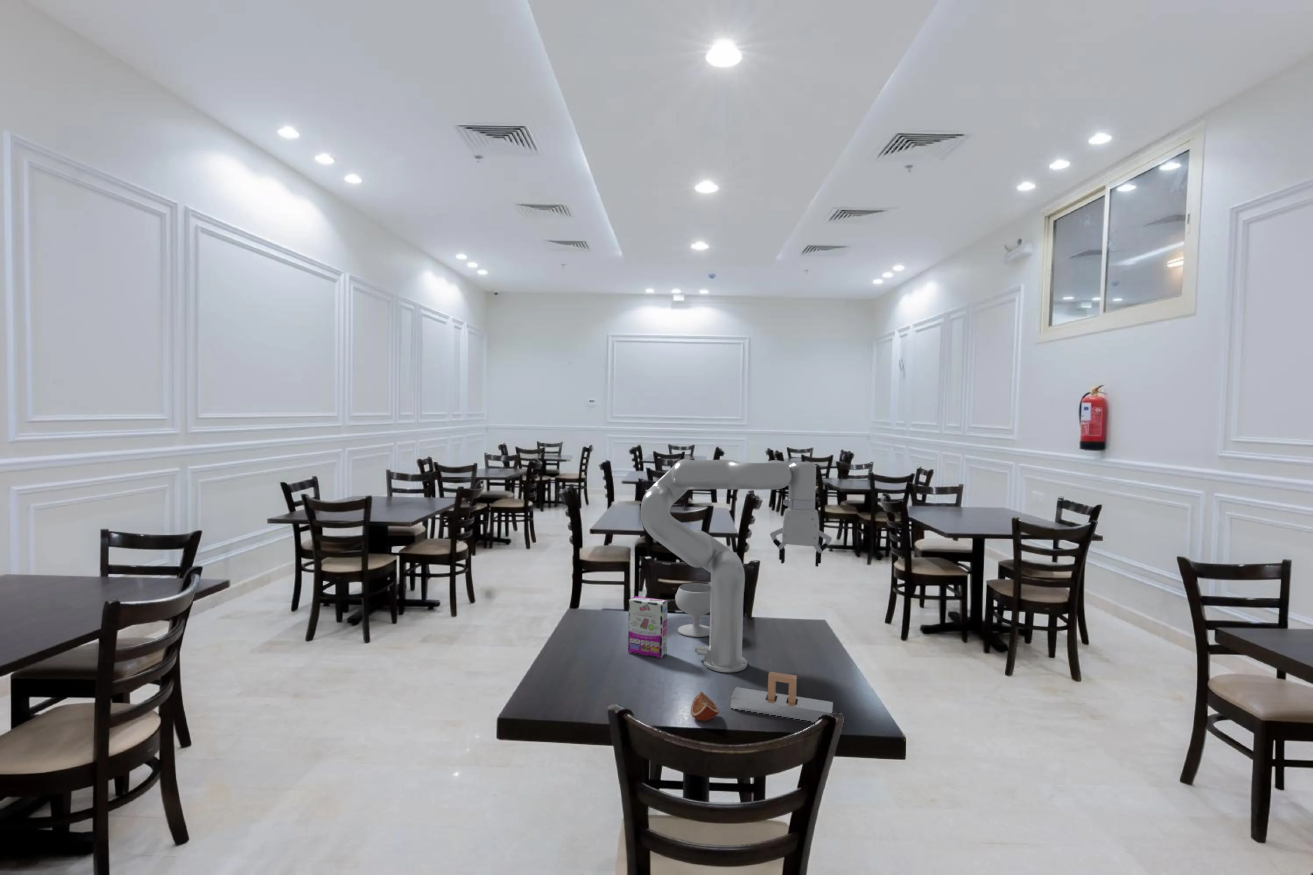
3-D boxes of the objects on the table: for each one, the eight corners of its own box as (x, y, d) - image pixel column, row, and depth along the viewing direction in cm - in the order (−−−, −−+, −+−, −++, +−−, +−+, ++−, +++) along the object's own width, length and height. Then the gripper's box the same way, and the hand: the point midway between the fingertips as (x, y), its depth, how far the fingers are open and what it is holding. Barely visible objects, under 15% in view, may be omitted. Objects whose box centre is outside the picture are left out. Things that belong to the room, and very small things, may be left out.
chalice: (672, 625, 216) (673, 582, 215) (711, 624, 217) (713, 581, 217) (678, 639, 202) (679, 593, 201) (720, 638, 203) (721, 593, 203)
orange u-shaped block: (767, 711, 153) (768, 675, 153) (768, 707, 156) (769, 671, 155) (794, 715, 151) (795, 679, 151) (795, 711, 153) (796, 675, 153)
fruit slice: (688, 710, 153) (688, 690, 153) (715, 709, 153) (715, 689, 153) (693, 727, 145) (693, 706, 144) (721, 726, 145) (722, 705, 145)
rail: (730, 708, 154) (731, 696, 154) (735, 698, 160) (735, 686, 160) (831, 725, 147) (831, 712, 147) (832, 714, 152) (832, 701, 152)
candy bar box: (667, 653, 190) (668, 599, 189) (661, 659, 185) (662, 604, 184) (633, 647, 194) (635, 595, 193) (627, 652, 189) (628, 599, 189)
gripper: (769, 504, 178) (767, 564, 179) (832, 508, 173) (830, 569, 173) (772, 501, 185) (771, 558, 186) (833, 505, 180) (831, 564, 181)
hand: (799, 564), depth 180 cm, fingers open, 9 cm apart
